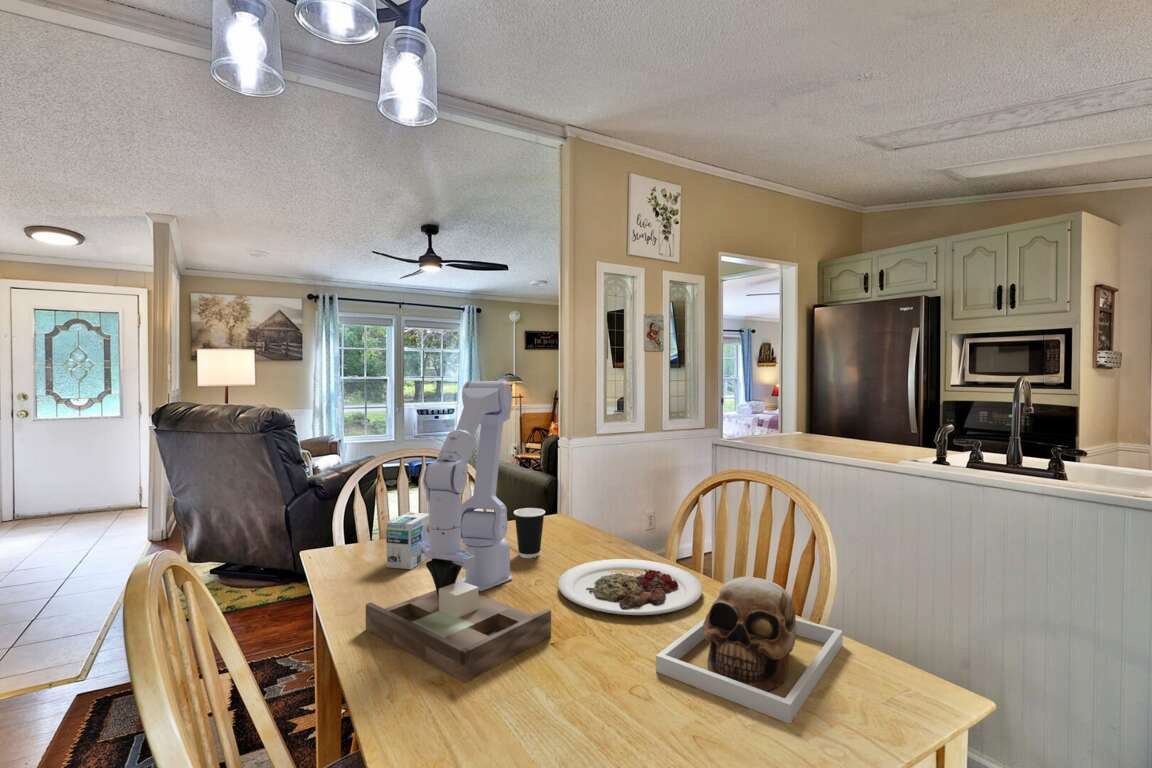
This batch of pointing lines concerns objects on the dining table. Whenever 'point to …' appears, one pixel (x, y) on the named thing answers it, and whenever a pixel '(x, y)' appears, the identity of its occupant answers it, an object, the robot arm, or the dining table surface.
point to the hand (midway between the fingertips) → (445, 598)
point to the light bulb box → (406, 540)
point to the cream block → (458, 599)
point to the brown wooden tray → (458, 633)
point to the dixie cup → (529, 531)
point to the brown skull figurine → (751, 632)
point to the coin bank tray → (744, 693)
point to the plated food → (630, 587)
